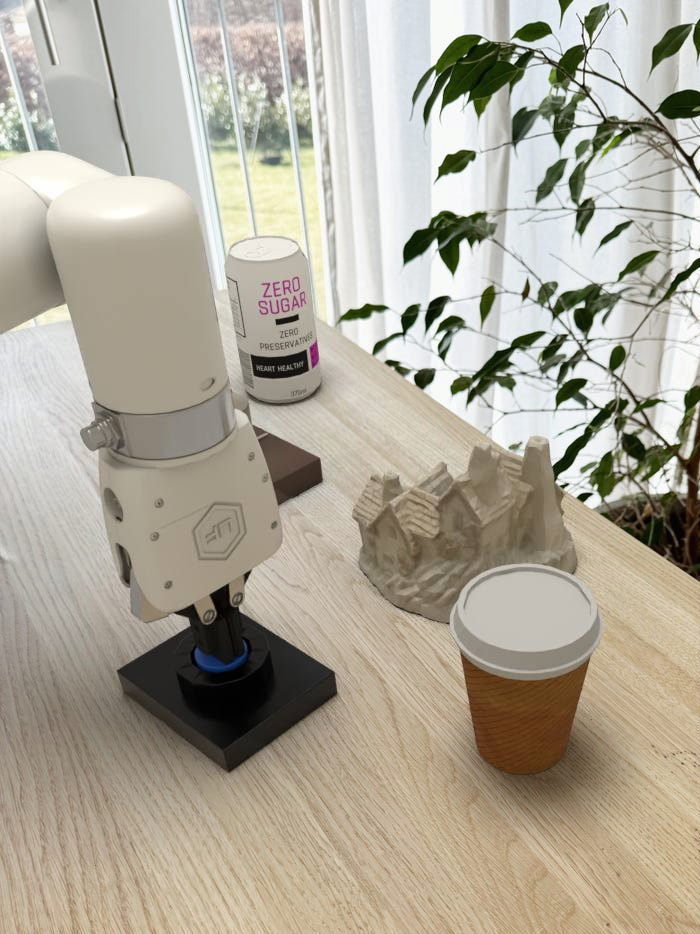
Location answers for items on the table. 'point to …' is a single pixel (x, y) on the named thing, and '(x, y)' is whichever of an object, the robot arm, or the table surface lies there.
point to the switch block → (229, 692)
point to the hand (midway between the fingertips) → (222, 650)
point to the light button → (218, 662)
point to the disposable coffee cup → (525, 660)
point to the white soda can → (273, 318)
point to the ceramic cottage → (461, 526)
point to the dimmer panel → (288, 466)
